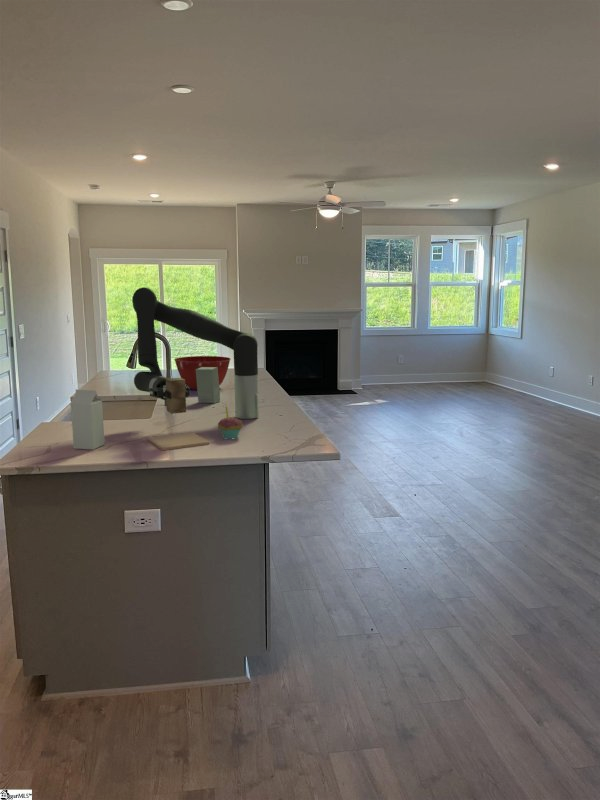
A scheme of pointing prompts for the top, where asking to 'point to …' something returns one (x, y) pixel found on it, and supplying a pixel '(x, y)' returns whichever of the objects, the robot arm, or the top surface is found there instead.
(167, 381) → the walnut block
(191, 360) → the mixing bowl
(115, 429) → the top surface
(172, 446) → the wooden square board
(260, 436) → the top surface
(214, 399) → the skincare box
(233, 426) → the cupcake
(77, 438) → the milk carton
